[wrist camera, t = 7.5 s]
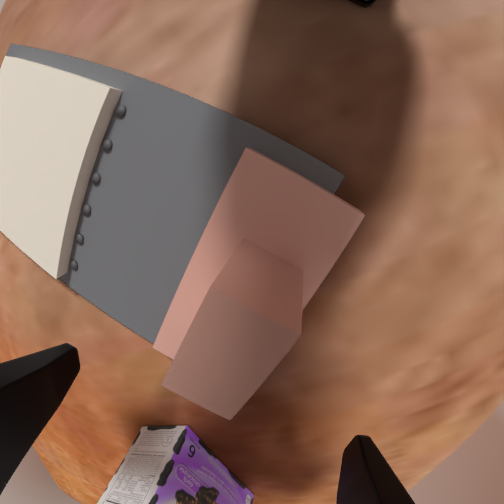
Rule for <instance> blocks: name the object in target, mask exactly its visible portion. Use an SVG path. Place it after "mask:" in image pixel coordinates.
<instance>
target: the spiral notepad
mask: <svg viewBox="0 0 504 504" xmlns="http://www.w3.org/2000/svg"><path fill="white" fill-rule="evenodd" d="M121 94H122V90H119V89H116V88H113V87H111V86H108V85H105V84H102V83H100V82H97V81H94V80H91V79H88V78H85V77H82V76H79V75H76V74H73V73H70V72H66V71H63V70H60V69H57V68H53V67H50V66H46V65H43V64H39V63H36V62H32V61H28V60H24V59H20V58H16V57H9V56H5V58H4V61H3V63H2V66H1V69H0V231H1V232H2V233H3V234H4V235H5V236H7V237H8V238H9V239H10V240H11V241H12V242H13V243H14V244H15V245H16V246H17V247H19V248H20V249H21V250H22V251H23V252H24V253H25V254H26V255H28V256H29V257H30V258H31V259H32V260H33V261H35V262H36V263H37V264H38V265H39V266H40V267H42V268H43V269H44V270H45V271H47V272H48V273H49V274H50V275H51V276H53V277H54V278H55V279H58V278H59V277H61V276H62V275H64V274H66V273H67V272H68V266H69V261H70V256H71V251H72V246H73V241H74V236H75V232H76V228H77V223H78V219H79V215H80V211H81V207H82V204H83V200H84V196H85V193H86V189H87V186H88V182H89V179H90V176H91V173H92V170H93V166H94V163H95V160H96V157H97V154H98V152H99V149H100V146H101V143H102V140H103V138H104V135H105V132H106V130H107V127H108V125H109V122H110V120H111V117H112V115H113V112H114V110H115V107H116V105H117V103H118V100H119V98H120V96H121ZM126 110H127V109H126V107H125V106H124V105H119V106H117V108H116V110H115V113H116V115H117V116H123V115H125V113H126ZM112 146H113V143H112V141H111V140H109V139H107V140H104V141H103V143H102V148H103V149H104V150H110V149H111V148H112ZM100 180H101V176H100V174H99V173H93V174H92V176H91V181H92V183H94V184H97V183H99V182H100ZM82 212H83V214H84V215H88V214H90V213H91V206H90V205H88V204H86V205H84V206H83V207H82ZM75 240H76V242H77V243H78V244H80V243H82V242H83V241H84V237H83V235H82V234H80V233H79V234H77V235H76V236H75ZM70 267H71V268H72V269H73V270H75V269H77V268H78V263H77V261H76V260H72V261H71V262H70Z"/></svg>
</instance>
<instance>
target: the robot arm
mask: <svg viewBox="0 0 504 504" xmlns="http://www.w3.org/2000/svg"><path fill="white" fill-rule="evenodd" d="M350 1H352V2H354V3H356V4H358V5H360V6H363V7H371V6H372V5H373V4H374V2H375V0H367V1H366V0H350ZM79 370H80V361H79V355H78V350H77V348H76V347H74V346H72V345H70V344H68V343H65V344H62V345H58V346H55V347H52V348H49V349H46V350H43V351H39V352H36V353H33V354H30V355H26V356H23V357H20V358H17V359H13V360H10V361H7V362H3V363H0V495H1V493H2V491H3V489H4V488H5V486H6V484H7V483H8V481H9V480H10V478H11V476H12V475H13V473H14V472H15V470H16V469H17V467H18V466H19V464H20V462H21V461H22V459H23V458H24V456H25V455H26V453H27V452H28V450H29V449H30V447H31V446H32V444H33V443H34V441H35V440H36V439H37V437H38V436H39V434H40V433H41V431H42V430H43V428H44V427H45V426H46V424H47V423H48V421H49V420H50V418H51V417H52V416H53V414H54V413H55V411H56V410H57V409H58V407H59V406H60V404H61V402H62V401H63V399H64V397H65V395H66V394H67V392H68V390H69V388H70V387H71V385H72V383H73V381H74V380H75V378H76V376H77V374H78V373H79ZM337 504H415V503H414V501H413V500H412V498H411V497H410V495H409V494H408V492H407V491H406V489H405V488H404V486H403V485H402V484H401V482H400V481H399V479H398V478H397V476H396V475H395V473H394V472H393V470H392V469H391V467H390V466H389V464H388V463H387V461H386V460H385V458H384V457H383V455H382V454H381V453H380V451H379V450H378V448H377V447H376V445H375V444H374V442H373V441H372V439H371V438H370V437H369V436H366V435H356V436H355V437H354V438H353V439H352V441H351V442H350V443H349V444H348V446H347V447H346V448H345V450H344V452H343V457H342V465H341V472H340V478H339V485H338V491H337Z"/></svg>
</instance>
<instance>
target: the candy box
mask: <svg viewBox="0 0 504 504" xmlns="http://www.w3.org/2000/svg"><path fill="white" fill-rule="evenodd" d="M253 497H254V494H253V493H252V492H251V491H250V490H249V489H247V488H246V487H245V486H244V485H243V484H242V483H241V482H240V481H239V480H238V479H237V478H236V477H235V476H234V475H233V474H232V473H231V472H230V471H229V470H228V469H227V468H226V467H225V466H224V465H223V464H222V463H221V462H220V461H219V460H218V459H217V458H216V457H215V455H214V454H213V453H212V452H211V451H210V450H209V449H208V448H207V447H206V446H205V445H204V444H203V442H202V441H201V440H200V439H199V438H198V437H197V435H196V434H195V433H194V432H193V431H192V430H191V428H190V427H189V426H188V425H184V426H142V427H141V429H140V432H139V434H138V435H137V437H136V439H135V441H134V442H133V444H132V446H131V447H130V449H129V451H128V453H127V454H126V456H125V458H124V460H123V461H122V463H121V465H120V466H119V468H118V470H117V471H116V473H115V475H114V476H113V478H112V479H111V481H110V483H109V485H108V487H107V488H106V490H105V491H104V493H103V495H102V496H101V498H100V500H99V501H98V503H97V504H252V502H253Z"/></svg>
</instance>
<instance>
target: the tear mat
mask: <svg viewBox="0 0 504 504" xmlns="http://www.w3.org/2000/svg"><path fill="white" fill-rule="evenodd" d="M6 56H9V57H16V58H20V59H24V60H28V61H32V62H36V63H39V64H43V65H46V66H50V67H53V68H57V69H60V70H63V71H66V72H70V73H73V74H76V75H79V76H82V77H85V78H88V79H91V80H94V81H97V82H100V83H102V84H105V85H108V86H111V87H113V88H116V89H119V90H122V94H121V96H120V98H119V100H118V103H117V105H116V107H115V110H116V108H117V106H119V105H124V106H125V107H126V109H127V110H126V113H125V115H123V116H117V115H116V113H115V110H114V112H113V115H112V117H111V120H110V122H109V125H108V127H107V130H106V132H105V135H104V138H103V140H102V143H103V141H104V140H107V139H109V140H111V141H112V143H113V146H112V148H111V149H110V150H104V149H103V148H102V143H101V146H100V149H99V152H98V154H97V157H96V160H95V163H94V166H93V170H92V173H91V176H92V174H93V173H99V174H100V176H101V180H100V182H99V183H97V184H94V183H92V181H91V176H90V179H89V182H88V186H87V189H86V193H85V196H84V200H83V204H82V207H83V206H84V205H86V204H88V205H90V206H91V213H90V214H88V215H84V214H83V212H82V207H81V211H80V215H79V219H78V223H77V228H76V232H75V236H76V235H77V234H79V233H80V234H82V235H83V237H84V241H83V242H82V243H80V244H78V243H77V242H76V240H75V236H74V241H73V246H72V251H71V256H70V261H69V266H68V272H67V273H66V274H64V275H62V276H61V277H59V279H60V280H61V281H62V282H64V283H65V284H66V285H68V286H69V287H70V288H72V289H73V290H74V291H76V292H77V293H78V294H80V295H81V296H82V297H84V298H85V299H86V300H88V301H89V302H91V303H92V304H93V305H95V306H96V307H98V308H99V309H101V310H102V311H103V312H105V313H106V314H108V315H109V316H111V317H112V318H114V319H115V320H117V321H118V322H120V323H121V324H123V325H124V326H126V327H127V328H129V329H130V330H132V331H133V332H135V333H137V334H138V335H140V336H141V337H143V338H145V339H146V340H148V341H149V342H151V343H153V344H154V343H155V340H156V338H157V335H158V333H159V331H160V328H161V326H162V324H163V321H164V319H165V316H166V314H167V312H168V310H169V307H170V305H171V303H172V300H173V298H174V296H175V294H176V291H177V289H178V287H179V284H180V282H181V280H182V278H183V276H184V273H185V271H186V269H187V267H188V265H189V262H190V260H191V258H192V256H193V254H194V252H195V249H196V247H197V245H198V243H199V241H200V239H201V237H202V235H203V232H204V230H205V228H206V226H207V224H208V222H209V220H210V218H211V216H212V214H213V212H214V210H215V208H216V206H217V203H218V201H219V199H220V197H221V195H222V193H223V191H224V189H225V187H226V185H227V183H228V181H229V179H230V177H231V175H232V174H233V172H234V170H235V168H236V166H237V164H238V162H239V160H240V158H241V156H242V154H243V152H244V150H245V148H252V149H254V150H255V151H257V152H259V153H261V154H263V155H265V156H267V157H269V158H271V159H273V160H274V161H276V162H278V163H280V164H282V165H284V166H286V167H287V168H289V169H291V170H293V171H295V172H296V173H298V174H300V175H302V176H304V177H305V178H307V179H309V180H311V181H312V182H314V183H316V184H317V185H319V186H321V187H323V188H324V189H326V190H328V191H329V192H331V193H333V194H335V193H336V191H337V189H338V187H339V186H340V184H341V182H342V181H343V179H344V177H345V175H343V174H342V173H340V172H338V171H337V170H335V169H333V168H332V167H330V166H328V165H327V164H325V163H323V162H321V161H320V160H318V159H316V158H314V157H313V156H311V155H309V154H307V153H306V152H304V151H302V150H300V149H298V148H296V147H295V146H293V145H291V144H289V143H287V142H285V141H283V140H282V139H280V138H278V137H276V136H274V135H272V134H270V133H268V132H266V131H264V130H262V129H260V128H258V127H256V126H254V125H252V124H250V123H248V122H246V121H244V120H242V119H240V118H238V117H235V116H233V115H231V114H229V113H227V112H225V111H222V110H220V109H218V108H216V107H213V106H211V105H209V104H207V103H204V102H202V101H200V100H197V99H195V98H192V97H190V96H188V95H185V94H183V93H180V92H178V91H175V90H173V89H170V88H168V87H165V86H162V85H160V84H157V83H154V82H152V81H149V80H146V79H143V78H140V77H138V76H135V75H132V74H129V73H126V72H123V71H120V70H117V69H113V68H110V67H107V66H104V65H100V64H97V63H94V62H90V61H87V60H83V59H79V58H76V57H72V56H68V55H64V54H60V53H56V52H51V51H47V50H42V49H38V48H33V47H28V46H22V45H17V44H10V47H9V49H8V52H7V54H6ZM72 260H76V261H77V263H78V268H77V269H75V270H73V269H72V268H71V267H70V262H71V261H72Z"/></svg>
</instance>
